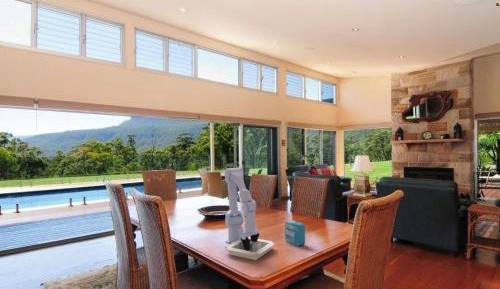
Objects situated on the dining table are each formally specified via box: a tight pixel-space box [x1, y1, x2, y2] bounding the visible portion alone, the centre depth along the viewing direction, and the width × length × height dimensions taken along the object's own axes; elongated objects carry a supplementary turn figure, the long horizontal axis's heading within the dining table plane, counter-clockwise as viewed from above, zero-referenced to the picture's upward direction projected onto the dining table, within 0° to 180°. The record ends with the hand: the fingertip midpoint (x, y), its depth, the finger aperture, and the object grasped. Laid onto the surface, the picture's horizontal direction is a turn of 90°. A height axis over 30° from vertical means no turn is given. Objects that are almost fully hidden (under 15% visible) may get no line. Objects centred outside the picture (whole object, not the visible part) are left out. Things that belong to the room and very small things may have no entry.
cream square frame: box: [224, 236, 276, 261], centre depth 154 cm, size 22×21×4 cm
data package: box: [284, 220, 306, 247], centre depth 167 cm, size 12×4×12 cm, turn 36°
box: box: [240, 241, 261, 252], centre depth 154 cm, size 4×11×5 cm, turn 60°
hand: (250, 249), depth 154 cm, fingers open, 7 cm apart
